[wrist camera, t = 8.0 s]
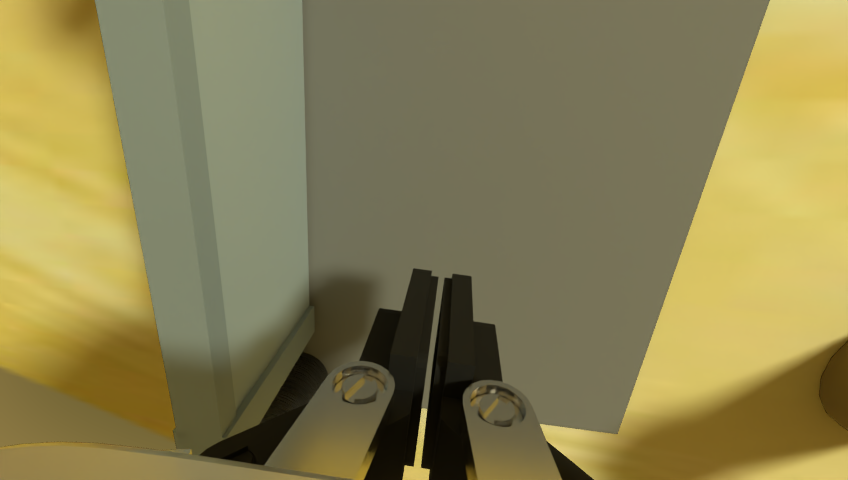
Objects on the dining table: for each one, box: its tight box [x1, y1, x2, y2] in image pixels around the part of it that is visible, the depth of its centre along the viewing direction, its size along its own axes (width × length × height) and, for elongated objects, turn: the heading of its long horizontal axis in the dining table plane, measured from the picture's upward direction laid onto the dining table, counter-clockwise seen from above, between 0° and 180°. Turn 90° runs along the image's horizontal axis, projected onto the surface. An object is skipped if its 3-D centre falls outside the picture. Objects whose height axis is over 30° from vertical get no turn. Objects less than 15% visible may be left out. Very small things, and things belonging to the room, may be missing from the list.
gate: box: [95, 0, 315, 455], centre depth 11 cm, size 14×1×6 cm, turn 175°
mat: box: [302, 0, 770, 434], centre depth 14 cm, size 20×16×1 cm
